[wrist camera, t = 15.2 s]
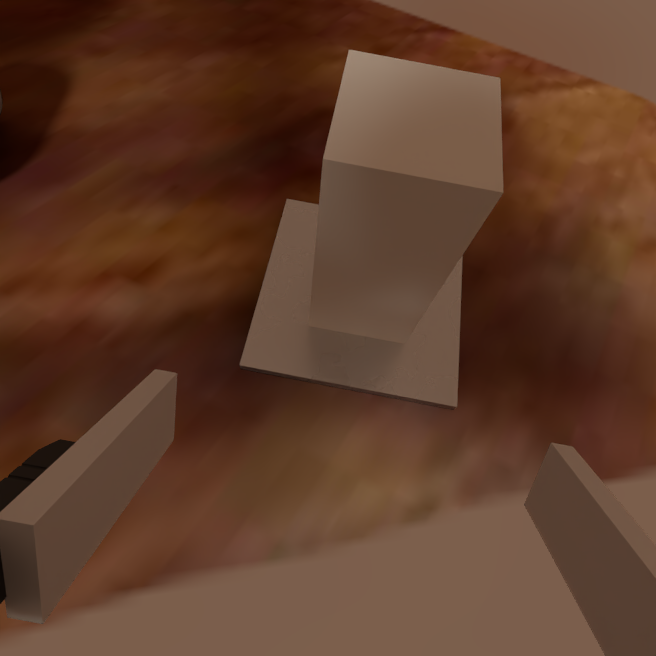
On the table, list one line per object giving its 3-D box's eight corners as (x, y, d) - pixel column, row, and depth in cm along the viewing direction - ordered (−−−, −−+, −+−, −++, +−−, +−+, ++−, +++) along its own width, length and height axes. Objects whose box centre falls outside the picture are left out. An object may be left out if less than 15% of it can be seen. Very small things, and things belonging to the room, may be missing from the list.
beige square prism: (308, 325, 23) (323, 158, 12) (324, 247, 26) (349, 49, 15) (404, 343, 23) (503, 192, 12) (411, 263, 26) (500, 78, 15)
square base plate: (240, 368, 22) (219, 307, 16) (287, 204, 28) (285, 106, 21) (453, 409, 22) (520, 365, 16) (460, 238, 27) (513, 150, 21)
